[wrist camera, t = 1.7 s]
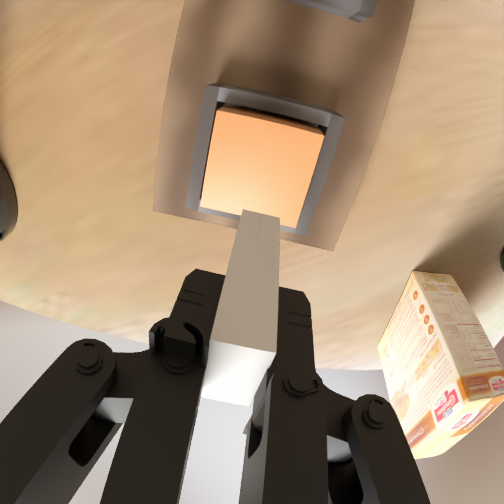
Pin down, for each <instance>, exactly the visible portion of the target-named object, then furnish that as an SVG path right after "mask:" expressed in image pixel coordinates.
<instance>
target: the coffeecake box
mask: <svg viewBox="0 0 504 504" xmlns="http://www.w3.org/2000/svg"><path fill="white" fill-rule="evenodd" d="M377 349H378V353H379V356H380V360H381V364H382V368H383V373H384V377H385V381H386V386H387V390H388V395H389V399H390V404H391V405H392V407H393V409H394V410H395V412H396V414H397V417H398V419H399V422H400V424H401V427H402V429H403V431H404V434H405V436H406V439H407V441H408V444H409V446H410V449H411V452H412V454H413V457H414V459H418V458H425V457H432V456H436V455H439V454H442V453H444V452H445V451H446V450H448V449H449V448H450V447H452V446H453V445H454V444H455V443H457V442H458V441H459V440H460V439H462V438H463V437H464V436H465V435H467V434H468V433H469V432H470V431H471V430H473V429H474V428H475V427H476V426H477V425H478V424H480V423H481V422H482V421H483V420H484V419H485V418H486V417H487V416H488V415H489V414H491V413H492V412H493V411H494V410H495V409H496V408H497V407H498V406H499V405H500V404H501V403H502V402H503V401H504V370H503V368H502V366H501V364H500V361H499V360H498V357H497V355H496V353H495V351H494V349H493V347H492V345H491V343H490V341H489V339H488V337H487V335H486V334H485V332H484V330H483V328H482V326H481V324H480V322H479V321H478V319H477V317H476V315H475V313H474V312H473V310H472V308H471V306H470V305H469V303H468V301H467V300H466V298H465V296H464V295H463V293H462V291H461V290H460V288H459V286H458V285H457V283H456V282H455V280H454V279H453V277H452V275H450V274H435V273H427V272H420V271H412V273H411V275H410V278H409V280H408V282H407V285H406V287H405V289H404V292H403V294H402V296H401V298H400V301H399V303H398V305H397V307H396V309H395V311H394V314H393V316H392V318H391V320H390V322H389V324H388V326H387V328H386V330H385V332H384V334H383V336H382V338H381V340H380V342H379V344H378V346H377Z"/></svg>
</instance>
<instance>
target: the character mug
mask: <svg viewBox="0 0 504 504" xmlns="http://www.w3.org/2000/svg"><path fill="white" fill-rule="evenodd" d="M501 268H502V270H503V271H504V251H503V254H502V257H501Z"/></svg>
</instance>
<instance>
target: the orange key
mask: <svg viewBox="0 0 504 504" xmlns="http://www.w3.org/2000/svg"><path fill="white" fill-rule="evenodd" d="M323 140H324V134H323V133H322V132H321V130H320V129H319V128H318V127H314V126H311V125H307V124H304V123H300V122H296V121H292V120H289V119H285V118H281V117H276V116H272V115H268V114H264V113H259V112H255V111H250V110H245V109H240V108H235V107H230V106H225V105H224V106H223V107H221V108H220V109H218V110H217V112H216V117H215V122H214V127H213V132H212V138H211V143H210V149H209V155H208V160H207V166H206V172H205V178H204V184H203V191H202V197H201V203H200V207H205V208H209V209H214V210H218V211H223V212H228V213H232V214H237V215H241V214H242V210H243V209H245V210H249V211H253V212H258V213H262V214H266V215H270V216H274V217H279V218H280V225H284V226H289V227H293V228H296V225H297V222H298V219H299V216H300V213H301V210H302V207H303V204H304V200H305V197H306V194H307V191H308V188H309V185H310V182H311V178H312V175H313V172H314V169H315V166H316V162H317V159H318V156H319V153H320V149H321V146H322V143H323Z"/></svg>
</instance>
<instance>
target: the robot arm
mask: <svg viewBox="0 0 504 504" xmlns="http://www.w3.org/2000/svg"><path fill="white" fill-rule="evenodd" d="M16 220H17V202H16V196H15V192H14V188H13V185H12V182H11V180H10V177H9V175H8V173H7V171H6V169H5V168H4V166H3V165H2V163H1V162H0V242H1V241H2V240H3V239H5V238H6V237H7V236H8V235H9V234H10V233H11V232H12V231H13V229H14V227H15V224H16ZM279 255H280V218H279V217H274V216H270V215H266V214H262V213H258V212H253V211H249V210H245V209H243V210H242V214H241V218H240V222H239V226H238V229H237V233H236V237H235V241H234V245H233V249H232V253H231V257H230V261H229V264H228V268H227V272H226V276H225V275H221V274H216V273H212V272H208V271H204V270H199V269H195V270H194V271H193V272H191V273H190V274H189V275H188V276H186V277H185V280H184V282H183V285H182V287H181V291H180V292H179V295H178V297H177V301H176V302H175V305H174V307H173V310H172V312H171V315H170V317H169V318H163V319H162V320H160V321H158V322H157V323H155V324H154V325H153V326H152V328H151V329H150V331H149V347H150V349H148V350H145V351H142V352H135V353H116V352H112V350H111V348H110V347H109V346H107V345H106V344H105V343H104V342H101V341H99V340H96V339H82V340H79V341H76V342H74V343H73V344H71V345H70V346H69V347H68V348H67V349H66V350H65V351H64V352H63V353H62V354H61V355H60V356H59V357H58V358H57V360H55V361H54V363H53V364H52V365H51V366H50V367H49V368H48V369H47V370H46V371H45V372H44V374H43V375H42V376H41V377H40V378H39V379H38V380H37V381H36V383H35V384H34V385H33V386H32V387H31V388H30V389H29V390H28V391H27V393H26V394H25V395H24V396H23V397H22V398H21V400H20V401H19V402H18V403H17V404H16V405H15V407H14V408H13V409H12V410H11V411H10V413H9V414H8V415H7V416H6V417H5V418H4V420H3V421H2V422H1V424H0V504H68V503H69V502H70V500H71V499H72V497H73V496H74V494H75V493H76V491H77V490H78V488H79V487H80V486H81V484H82V483H83V481H84V480H85V478H86V477H87V475H88V474H89V472H90V471H91V469H92V468H93V466H94V465H95V463H96V462H97V460H98V459H99V457H100V456H101V454H102V453H103V452H104V450H105V448H106V447H107V446H108V444H109V443H110V441H111V440H112V438H113V437H114V435H115V434H116V433H117V431H118V430H119V428H120V427H121V425H122V424H123V423H125V425H124V427H123V430H122V433H121V436H120V439H119V442H118V445H117V448H116V452H115V455H114V458H113V461H112V464H111V468H110V471H109V474H108V478H107V481H106V484H105V487H104V491H103V494H102V498H101V501H100V504H179V499H180V494H181V489H182V484H183V479H184V474H185V469H186V464H187V460H188V455H189V450H190V445H191V440H192V436H193V431H194V426H195V421H196V417H197V412H198V406H199V402H200V397H205V398H210V399H214V400H219V401H224V402H229V403H234V404H240V405H245V406H251V405H252V403H253V401H254V404H253V414H252V416H251V418H250V420H249V421H248V423H247V425H246V427H245V429H244V432H243V434H247V439H246V447H245V456H244V464H243V473H242V481H241V489H240V497H239V504H430V501H429V498H428V495H427V492H426V489H425V486H424V484H423V481H422V478H421V475H420V473H419V470H418V467H417V465H416V462H415V459H414V457H413V454H412V452H411V449H410V446H409V444H408V441H407V439H406V436H405V434H404V431H403V429H402V427H401V424H400V422H399V419H398V417H397V414H396V412H395V410H394V409H393V407H392V405H391V404H390V403H389V402H387V401H386V400H385V399H384V398H382V397H380V396H377V395H372V394H370V395H369V394H366V395H364V396H361V397H359V398H358V399H357V400H356V401H355V400H352V399H350V398H347V397H345V396H342V395H340V394H338V393H335V392H334V391H332V390H330V389H329V388H327V387H326V386H325V385H324V384H323V382H322V379H321V378H320V377H319V375H318V374H317V373H316V370H315V362H314V346H313V332H312V319H311V306H310V302H309V301H308V299H307V297H306V295H305V294H304V292H302V291H297V290H293V289H288V288H283V287H279Z"/></svg>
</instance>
